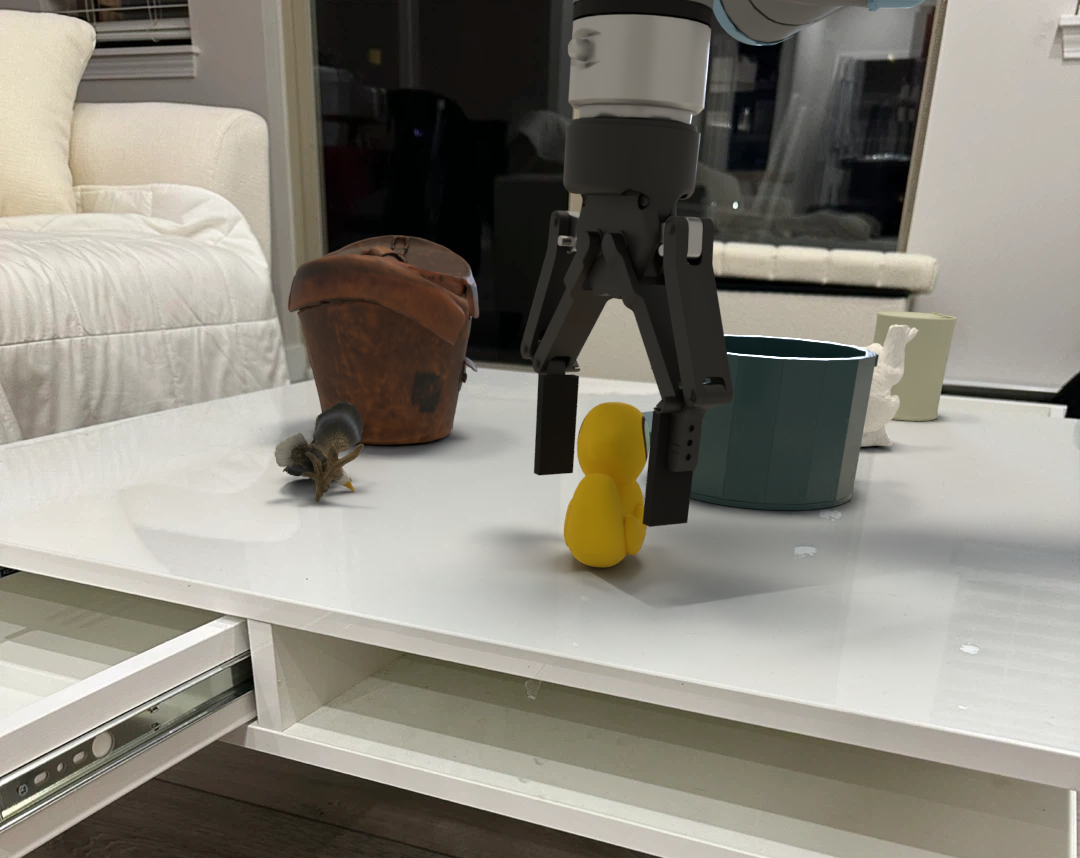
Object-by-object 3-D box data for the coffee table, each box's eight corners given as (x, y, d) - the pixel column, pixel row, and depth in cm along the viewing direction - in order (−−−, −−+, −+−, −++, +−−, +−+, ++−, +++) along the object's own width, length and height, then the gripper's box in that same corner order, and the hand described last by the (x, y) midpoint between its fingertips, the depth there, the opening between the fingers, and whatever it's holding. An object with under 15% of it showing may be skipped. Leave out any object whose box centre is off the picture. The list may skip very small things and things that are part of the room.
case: (344, 461, 93) (336, 238, 85) (268, 421, 108) (255, 229, 100) (517, 447, 102) (524, 244, 94) (424, 412, 117) (424, 235, 109)
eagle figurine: (393, 487, 80) (384, 442, 87) (338, 410, 76) (334, 369, 83) (310, 538, 81) (308, 489, 88) (252, 465, 77) (255, 420, 84)
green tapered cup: (935, 423, 125) (957, 316, 119) (856, 415, 127) (874, 310, 122) (938, 412, 132) (959, 311, 127) (863, 405, 135) (880, 305, 130)
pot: (916, 498, 90) (945, 356, 85) (709, 521, 80) (727, 362, 75) (788, 458, 103) (805, 333, 98) (595, 473, 93) (604, 336, 88)
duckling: (580, 533, 75) (589, 388, 71) (655, 541, 74) (668, 395, 70) (543, 579, 65) (551, 415, 61) (628, 590, 64) (642, 422, 60)
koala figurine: (879, 437, 115) (900, 320, 110) (920, 450, 109) (944, 328, 104) (814, 440, 112) (832, 320, 107) (852, 453, 106) (873, 327, 101)
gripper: (476, 121, 67) (469, 459, 76) (716, 98, 47) (667, 556, 56) (578, 131, 70) (560, 453, 79) (841, 113, 50) (776, 543, 60)
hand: (604, 497), depth 68 cm, fingers open, 13 cm apart
